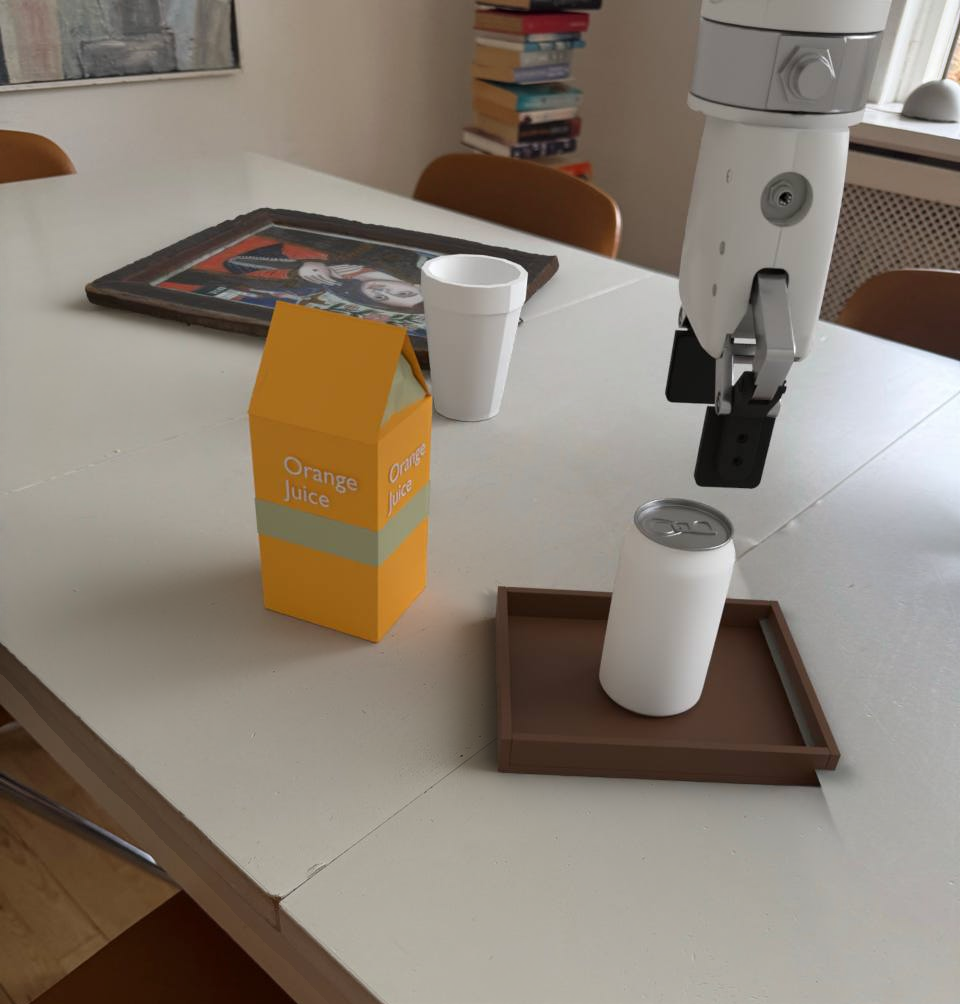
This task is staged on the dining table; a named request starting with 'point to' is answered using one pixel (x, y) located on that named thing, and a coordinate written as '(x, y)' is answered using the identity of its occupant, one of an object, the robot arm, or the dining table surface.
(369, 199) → the dining table surface
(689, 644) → the can
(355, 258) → the framed picture
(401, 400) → the orange juice
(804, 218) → the robot arm
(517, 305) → the foam cup
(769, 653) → the serving tray
